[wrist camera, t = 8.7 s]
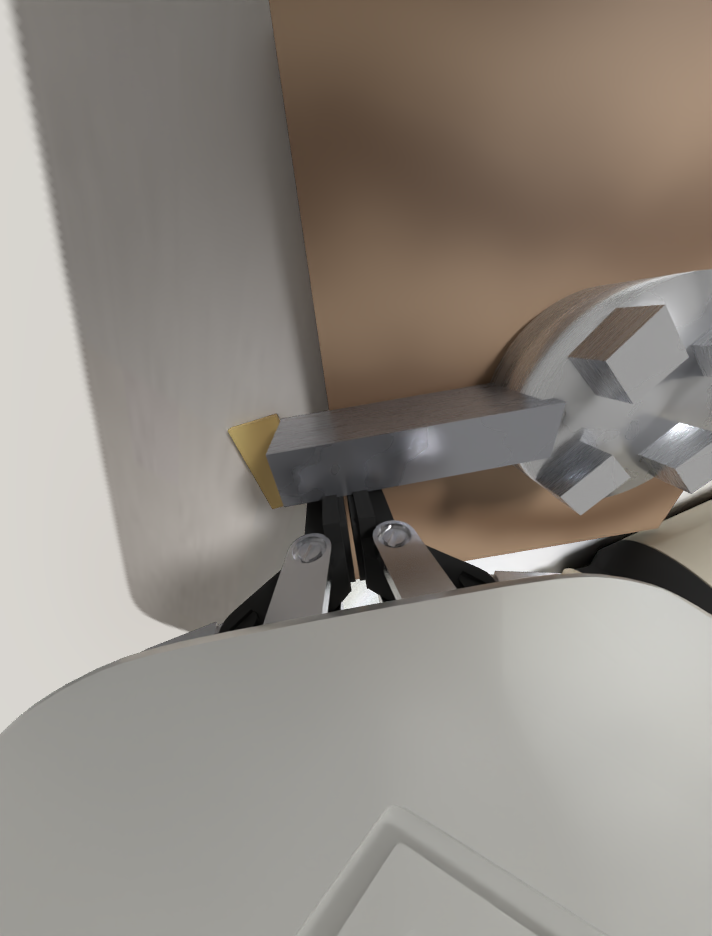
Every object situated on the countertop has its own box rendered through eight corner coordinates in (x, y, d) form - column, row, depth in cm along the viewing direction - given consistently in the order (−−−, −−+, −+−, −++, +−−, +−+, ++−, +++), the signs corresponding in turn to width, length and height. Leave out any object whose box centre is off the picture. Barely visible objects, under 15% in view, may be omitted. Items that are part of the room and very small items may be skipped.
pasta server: (694, 270, 10) (917, 236, 6) (616, 453, 14) (723, 498, 10) (257, 339, 9) (216, 346, 5) (308, 510, 13) (303, 580, 9)
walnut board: (88, 32, 7) (33, -39, 5) (934, 7, 8) (1048, -52, 7) (282, 572, 18) (279, 592, 16) (635, 514, 19) (658, 528, 18)
